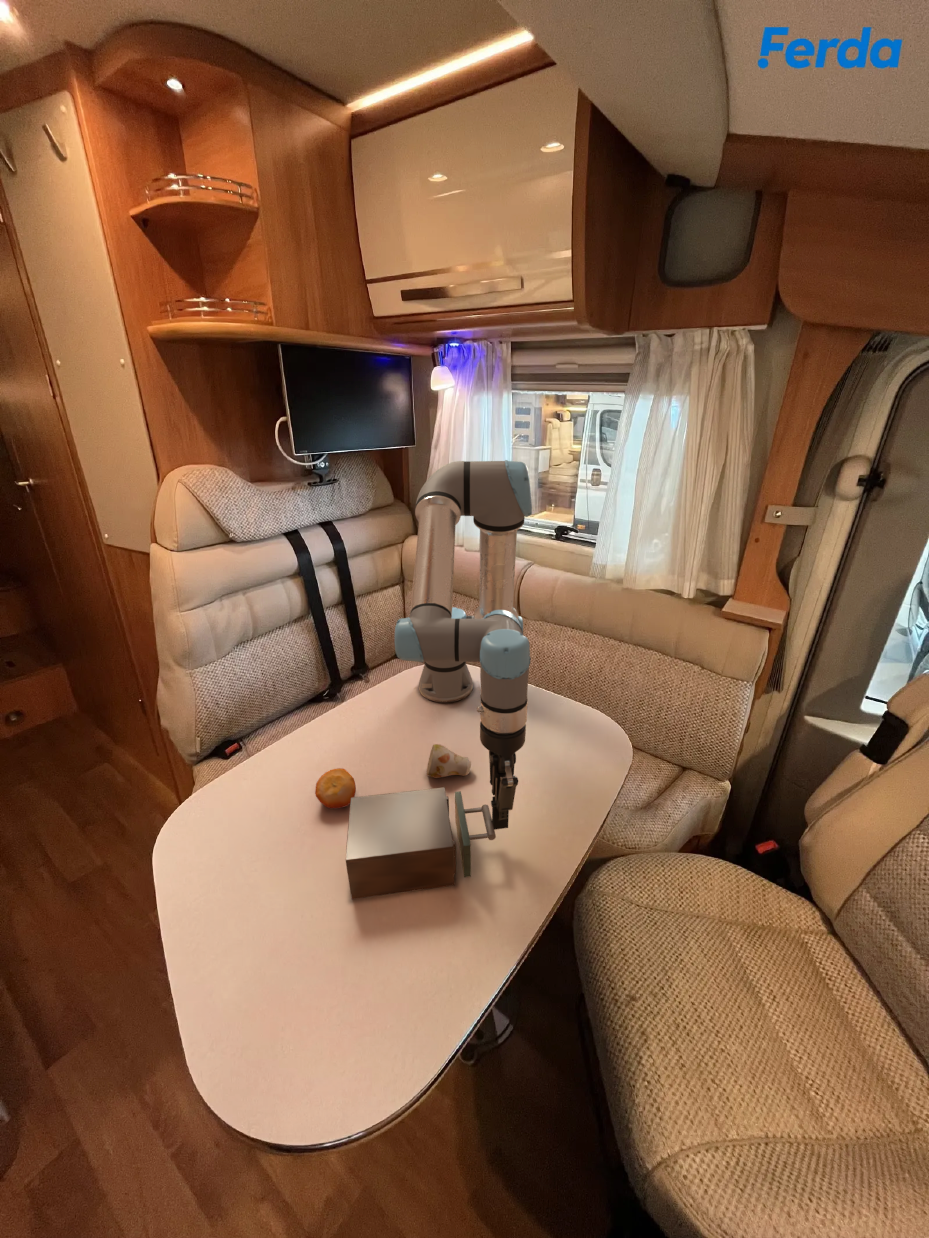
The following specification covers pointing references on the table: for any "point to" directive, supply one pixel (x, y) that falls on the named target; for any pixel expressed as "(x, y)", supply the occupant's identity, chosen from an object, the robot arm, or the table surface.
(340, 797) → the fruit
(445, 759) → the spotted paper cup
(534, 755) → the table surface
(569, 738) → the table surface
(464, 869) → the drawer
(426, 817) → the cabinet
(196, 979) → the table surface
